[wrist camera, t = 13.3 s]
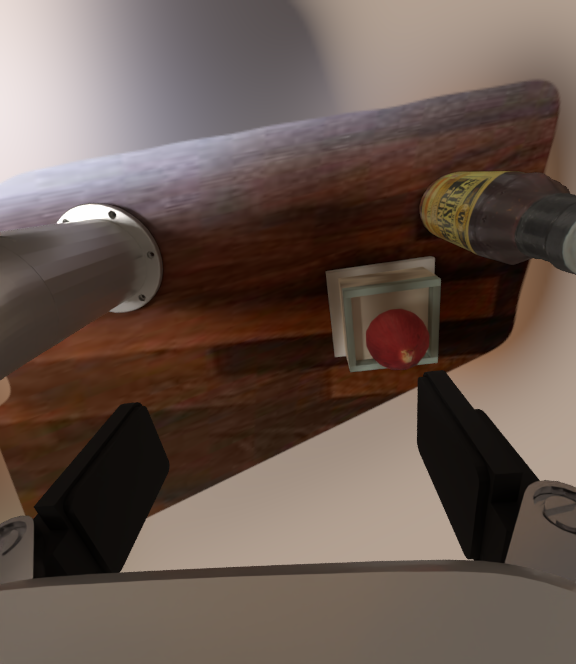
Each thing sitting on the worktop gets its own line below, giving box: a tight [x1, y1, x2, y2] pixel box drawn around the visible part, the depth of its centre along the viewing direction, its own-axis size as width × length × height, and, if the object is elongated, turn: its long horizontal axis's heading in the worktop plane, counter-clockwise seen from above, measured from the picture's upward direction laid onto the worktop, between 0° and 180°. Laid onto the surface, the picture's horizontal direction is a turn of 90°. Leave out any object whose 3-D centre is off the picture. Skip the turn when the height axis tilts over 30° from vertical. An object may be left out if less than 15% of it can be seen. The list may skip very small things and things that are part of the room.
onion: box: [366, 309, 429, 370], centre depth 30 cm, size 6×6×8 cm
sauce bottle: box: [419, 171, 576, 275], centre depth 25 cm, size 7×6×20 cm
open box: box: [326, 256, 441, 372], centre depth 36 cm, size 12×11×6 cm
